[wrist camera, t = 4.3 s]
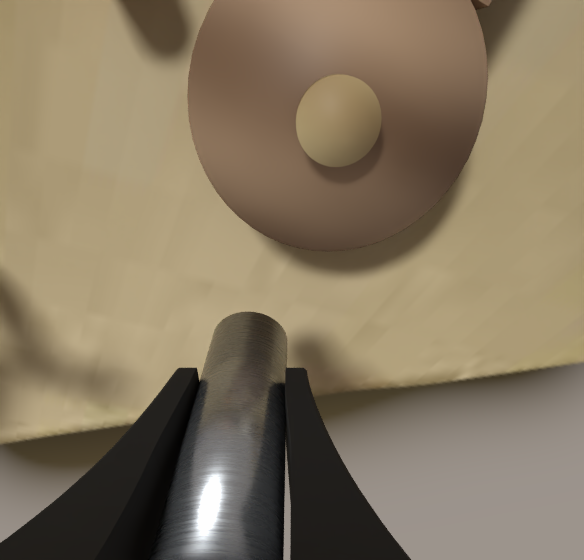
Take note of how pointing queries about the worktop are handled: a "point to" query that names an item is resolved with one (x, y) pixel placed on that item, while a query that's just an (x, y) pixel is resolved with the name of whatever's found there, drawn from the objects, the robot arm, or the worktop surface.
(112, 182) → the worktop surface
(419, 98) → the wooden disc with frame
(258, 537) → the steel pin
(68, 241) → the worktop surface
